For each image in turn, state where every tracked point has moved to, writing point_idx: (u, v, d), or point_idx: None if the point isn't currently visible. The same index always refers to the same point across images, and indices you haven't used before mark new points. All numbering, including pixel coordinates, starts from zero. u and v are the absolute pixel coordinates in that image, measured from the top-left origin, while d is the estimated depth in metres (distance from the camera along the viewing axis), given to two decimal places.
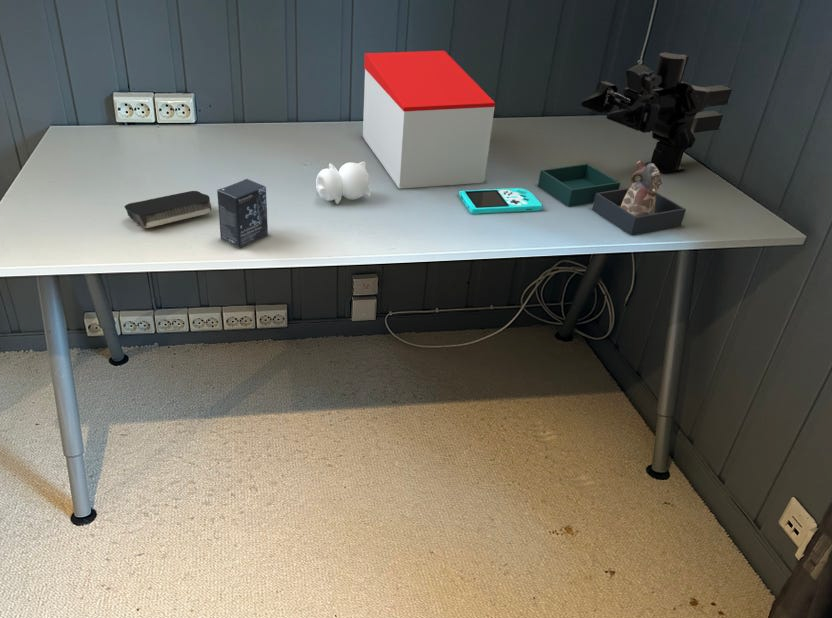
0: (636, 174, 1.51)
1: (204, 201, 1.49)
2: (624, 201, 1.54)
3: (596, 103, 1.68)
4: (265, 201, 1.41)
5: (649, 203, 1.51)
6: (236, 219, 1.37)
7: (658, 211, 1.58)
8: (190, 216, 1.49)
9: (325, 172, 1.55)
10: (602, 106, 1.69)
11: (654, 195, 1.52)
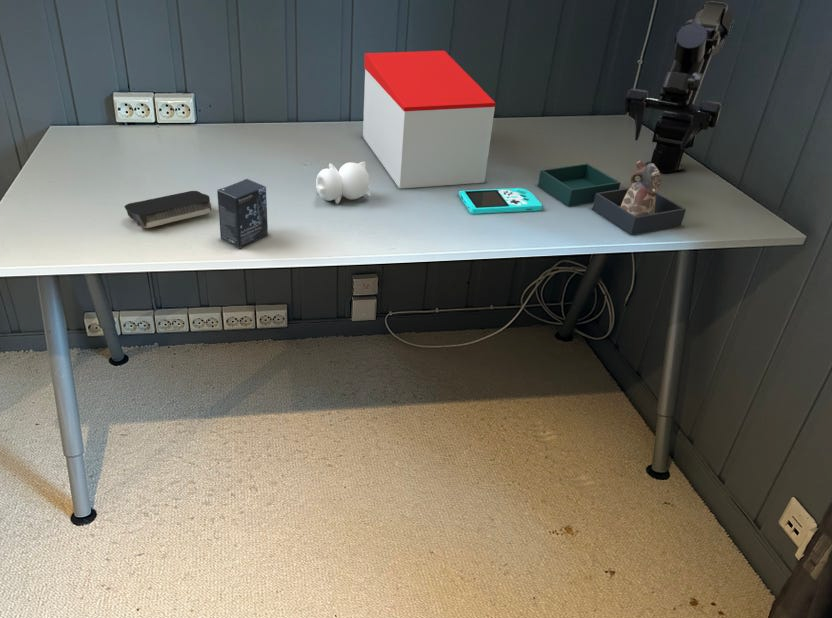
0: (636, 174, 1.51)
1: (204, 201, 1.49)
2: (624, 201, 1.54)
3: (641, 122, 1.56)
4: (265, 201, 1.41)
5: (649, 203, 1.51)
6: (236, 219, 1.37)
7: (658, 211, 1.58)
8: (190, 216, 1.49)
9: (325, 172, 1.55)
10: (643, 115, 1.58)
11: (654, 195, 1.52)
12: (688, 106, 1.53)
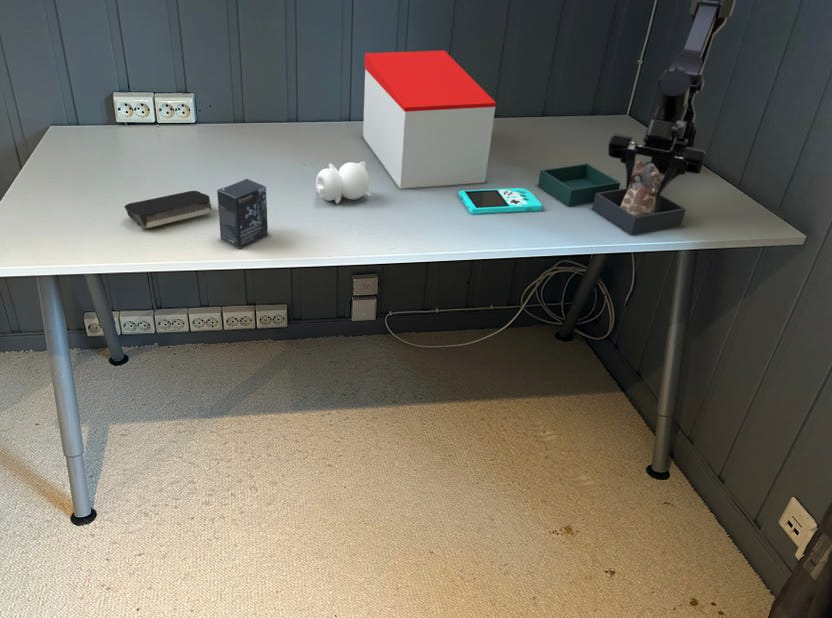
0: (636, 174, 1.51)
1: (204, 201, 1.49)
2: (624, 201, 1.54)
3: (632, 169, 1.53)
4: (265, 201, 1.41)
5: (649, 203, 1.51)
6: (236, 219, 1.37)
7: (658, 211, 1.58)
8: (190, 216, 1.49)
9: (325, 172, 1.55)
10: (634, 161, 1.55)
11: (654, 195, 1.52)
12: (672, 152, 1.51)
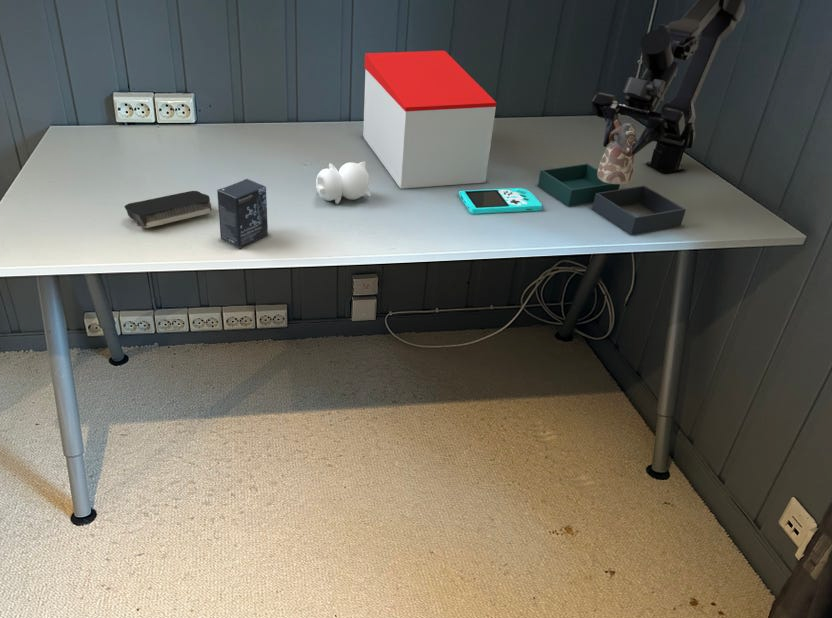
0: (614, 133, 1.52)
1: (204, 201, 1.49)
2: (601, 160, 1.55)
3: (613, 128, 1.54)
4: (265, 201, 1.41)
5: (624, 162, 1.51)
6: (236, 219, 1.37)
7: (658, 211, 1.58)
8: (190, 216, 1.49)
9: (325, 172, 1.55)
10: None
11: (630, 155, 1.52)
12: (653, 113, 1.50)
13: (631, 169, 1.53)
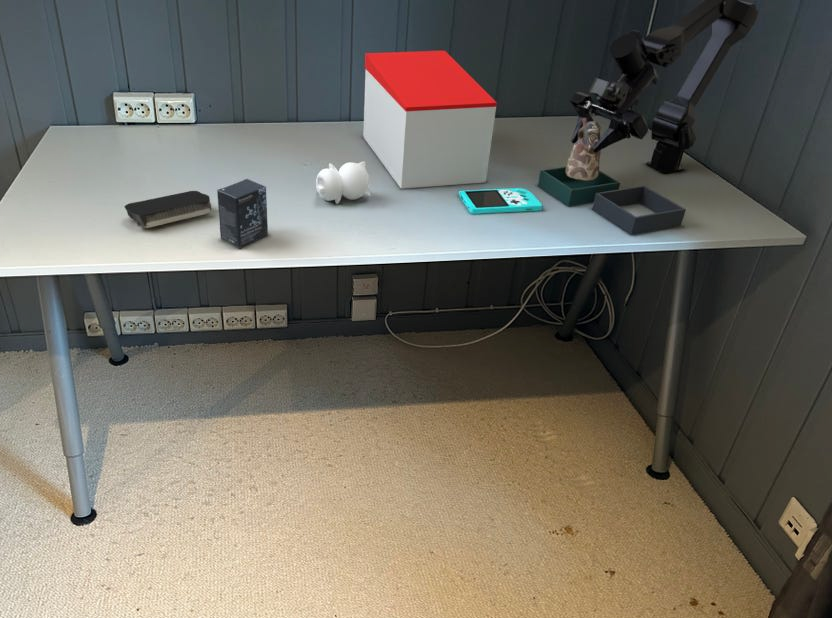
0: (581, 131, 1.60)
1: (204, 201, 1.49)
2: None
3: None
4: (265, 201, 1.41)
5: (585, 159, 1.59)
6: (236, 219, 1.37)
7: (658, 211, 1.58)
8: (190, 216, 1.49)
9: (325, 172, 1.55)
10: None
11: (593, 153, 1.59)
12: (620, 115, 1.56)
13: (595, 167, 1.61)
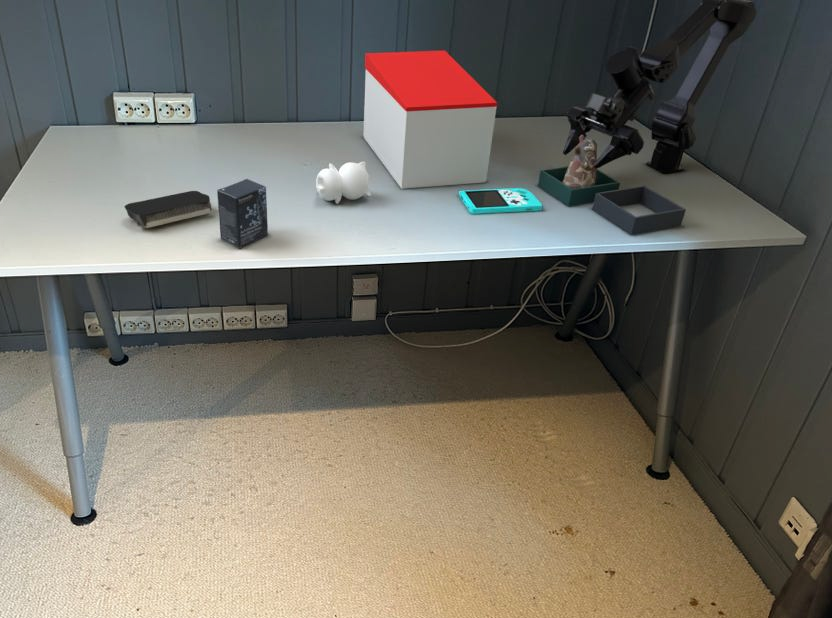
0: (578, 148, 1.62)
1: (204, 201, 1.49)
2: (566, 172, 1.66)
3: (576, 139, 1.65)
4: (265, 201, 1.41)
5: (582, 176, 1.61)
6: (236, 219, 1.37)
7: (658, 211, 1.58)
8: (190, 216, 1.49)
9: (325, 172, 1.55)
10: (583, 133, 1.65)
11: (589, 170, 1.61)
12: (616, 130, 1.58)
13: (591, 183, 1.63)
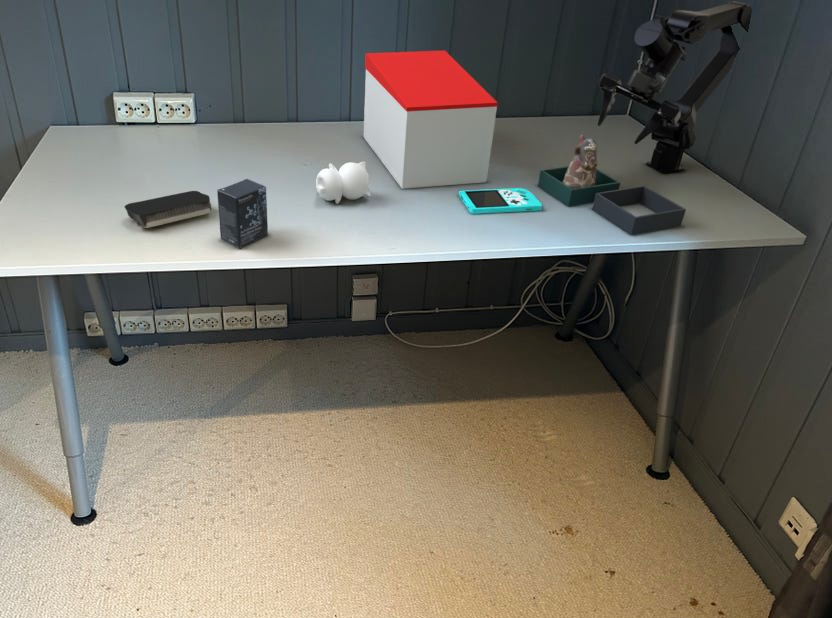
0: (578, 148, 1.62)
1: (204, 201, 1.49)
2: (566, 172, 1.66)
3: (608, 108, 1.64)
4: (265, 201, 1.41)
5: (582, 176, 1.61)
6: (236, 219, 1.37)
7: (658, 211, 1.58)
8: (190, 216, 1.49)
9: (325, 172, 1.55)
10: (613, 99, 1.64)
11: (589, 170, 1.61)
12: (653, 102, 1.59)
13: (591, 183, 1.63)
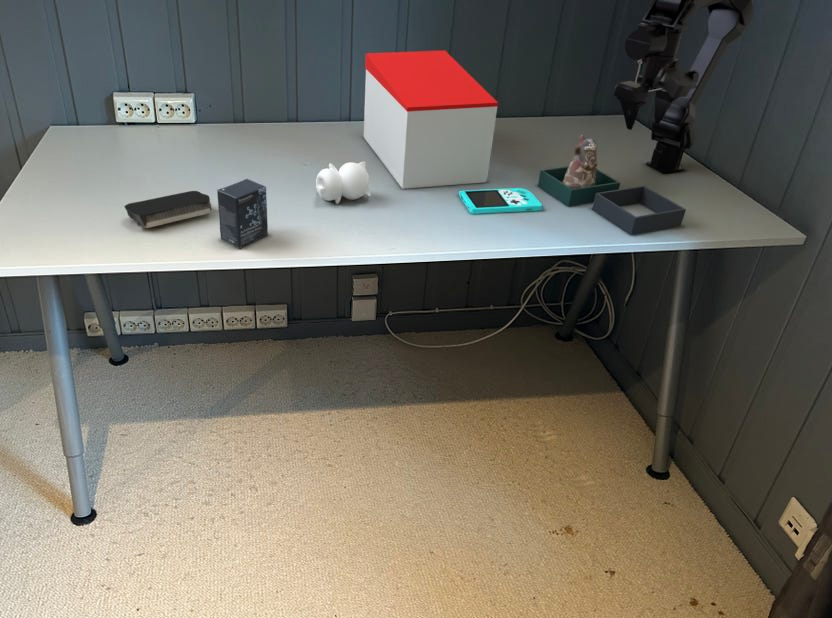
0: (578, 148, 1.62)
1: (204, 201, 1.49)
2: (566, 172, 1.66)
3: None
4: (265, 201, 1.41)
5: (582, 176, 1.61)
6: (236, 219, 1.37)
7: (658, 211, 1.58)
8: (190, 216, 1.49)
9: (325, 172, 1.55)
10: None
11: (589, 170, 1.61)
12: None
13: (591, 183, 1.63)
